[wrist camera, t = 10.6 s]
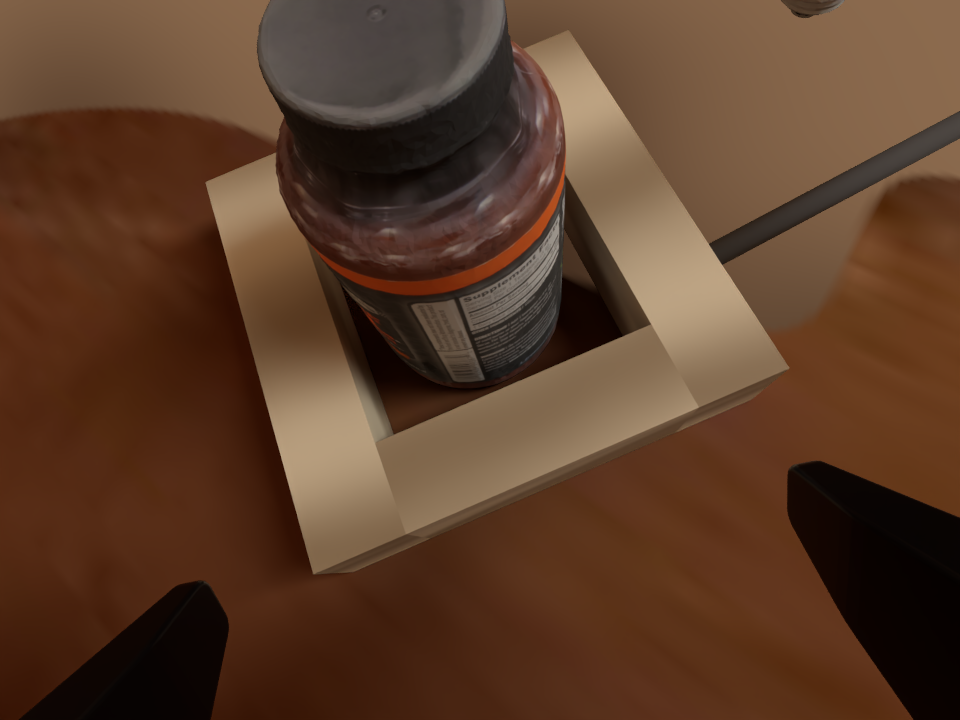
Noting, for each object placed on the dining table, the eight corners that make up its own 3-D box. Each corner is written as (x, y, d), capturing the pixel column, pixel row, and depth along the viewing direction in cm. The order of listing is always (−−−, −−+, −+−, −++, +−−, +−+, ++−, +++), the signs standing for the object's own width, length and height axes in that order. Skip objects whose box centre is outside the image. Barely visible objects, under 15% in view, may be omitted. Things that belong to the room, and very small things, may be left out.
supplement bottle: (360, 285, 20) (145, -18, 10) (506, 206, 21) (455, -170, 10) (435, 429, 18) (267, 246, 8) (596, 339, 19) (652, 41, 8)
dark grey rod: (690, 285, 19) (695, 274, 18) (675, 266, 19) (681, 254, 18) (1018, 110, 19) (1037, 92, 19) (1000, 94, 20) (1018, 76, 19)
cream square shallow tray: (751, 399, 17) (789, 368, 14) (353, 571, 17) (313, 574, 14) (567, 97, 22) (568, 29, 19) (251, 231, 22) (205, 182, 19)
